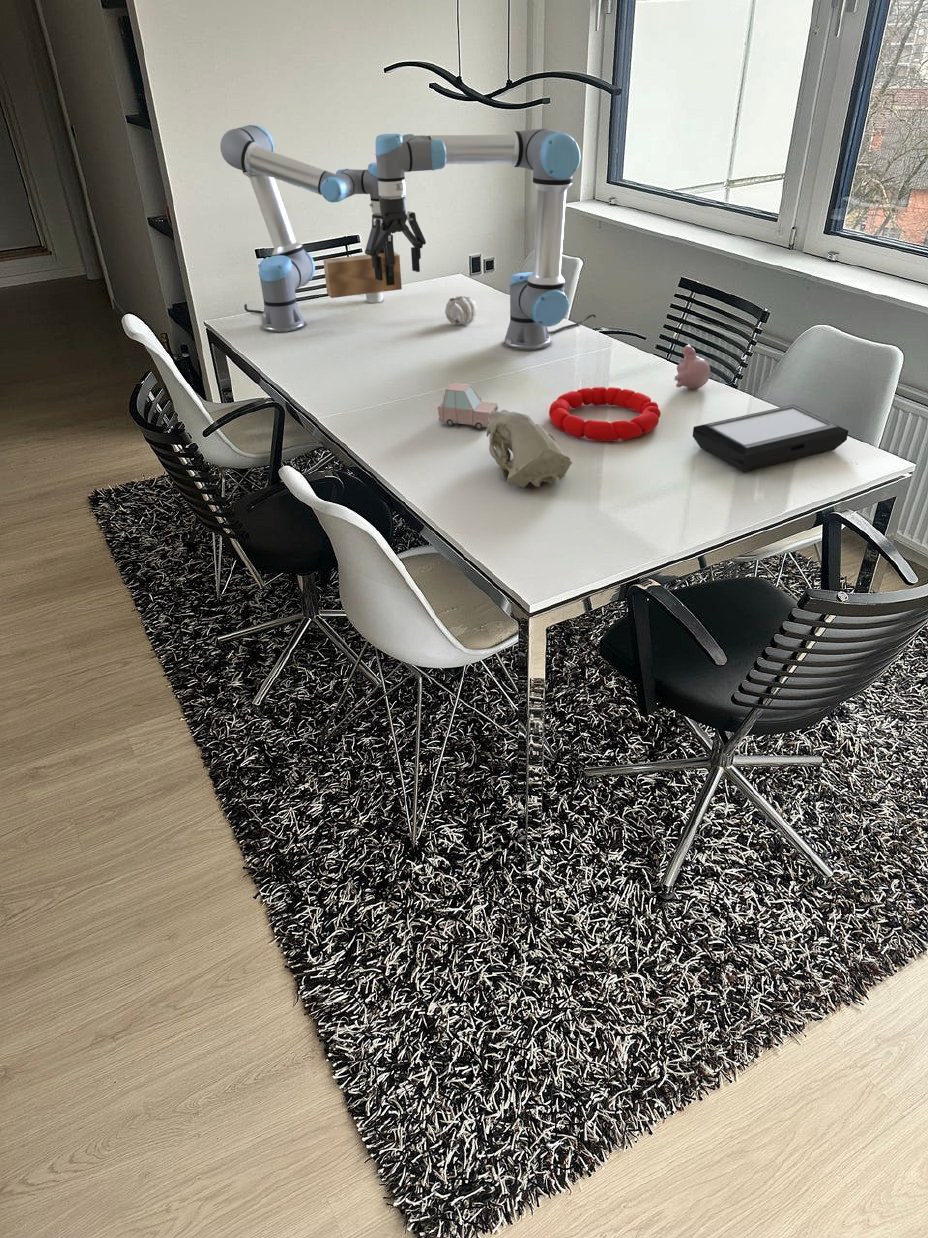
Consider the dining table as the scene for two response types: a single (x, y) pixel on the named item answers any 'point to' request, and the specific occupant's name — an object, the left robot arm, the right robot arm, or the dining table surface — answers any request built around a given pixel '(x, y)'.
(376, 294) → the coffee cup
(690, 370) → the figurine
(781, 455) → the electronic device
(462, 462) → the dining table surface
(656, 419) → the decorative ring
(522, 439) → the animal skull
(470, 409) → the toy car
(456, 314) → the seashell
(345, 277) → the box
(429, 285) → the dining table surface
